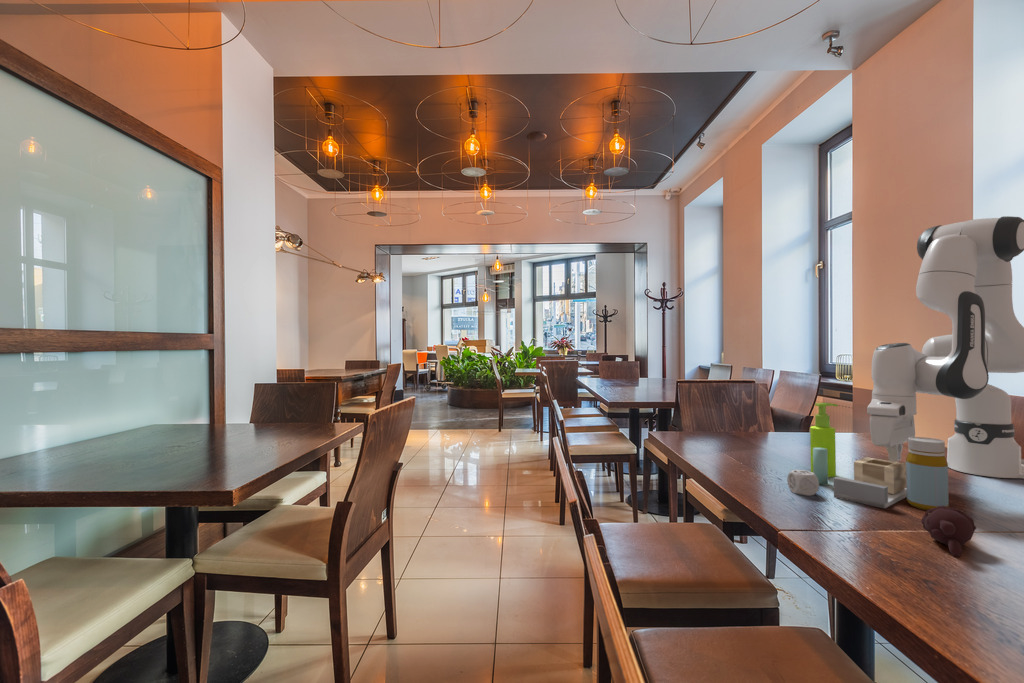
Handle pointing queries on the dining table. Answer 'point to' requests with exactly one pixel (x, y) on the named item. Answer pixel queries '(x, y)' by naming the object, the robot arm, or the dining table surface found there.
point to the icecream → (949, 527)
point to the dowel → (820, 465)
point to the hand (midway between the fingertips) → (894, 460)
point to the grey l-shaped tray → (866, 493)
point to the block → (881, 473)
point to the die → (803, 482)
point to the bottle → (926, 473)
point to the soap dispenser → (824, 437)
